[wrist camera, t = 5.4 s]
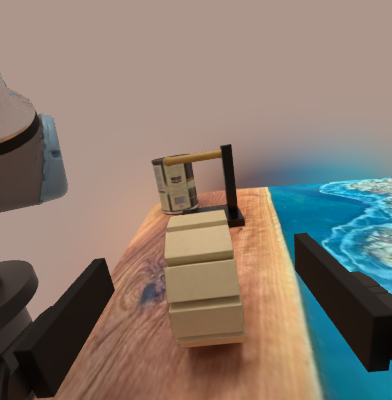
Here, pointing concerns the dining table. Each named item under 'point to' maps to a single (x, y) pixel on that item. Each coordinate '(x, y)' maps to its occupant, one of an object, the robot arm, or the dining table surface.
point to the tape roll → (202, 281)
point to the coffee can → (175, 186)
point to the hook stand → (231, 207)
